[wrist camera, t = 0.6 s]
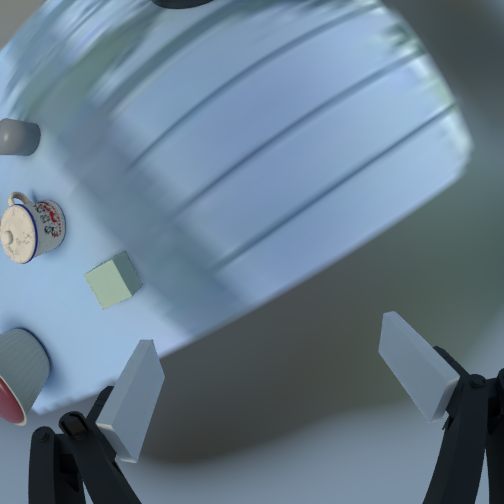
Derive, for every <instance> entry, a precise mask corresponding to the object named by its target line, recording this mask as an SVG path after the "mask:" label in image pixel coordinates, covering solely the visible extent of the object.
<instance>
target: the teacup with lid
mask: <svg viewBox="0 0 504 504" xmlns="http://www.w3.org/2000/svg"><path fill="white" fill-rule="evenodd" d="M13 198H17V199H20V200H21V201H22V202H23V203H24V204H22V205H21V204H15V203H14V200H13ZM8 204H9V208H8V209H7V210H6V212H5V213H4V215H3V217H2V220H1V226H0V235H1V241H2V245H3V247H4V250H5V252H6V253H7V255H8V256H9V257H10V258H11V259H12V260H13V261H15V262H17V263H21V264H24V263H28V262H29V261H31V260H32V258H35V257H37V256H39V255H41V254H44V253H46V252H48V251H50V250H53V249H55V248H56V247H58V246H59V245H60V244H61V242H62V240H63V238H64V235H65V219H64V216H63V213H62V211H61V209H60V208H59V206H58V205H57V204H56V203H54V202H52V201H49V200H45V201H39V202H33V203H31V202H30V200H29V199H28V197H27V196H26V195H24V194H23V193H21V192H13V193H11V195H10V196H9V198H8Z"/></svg>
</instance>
